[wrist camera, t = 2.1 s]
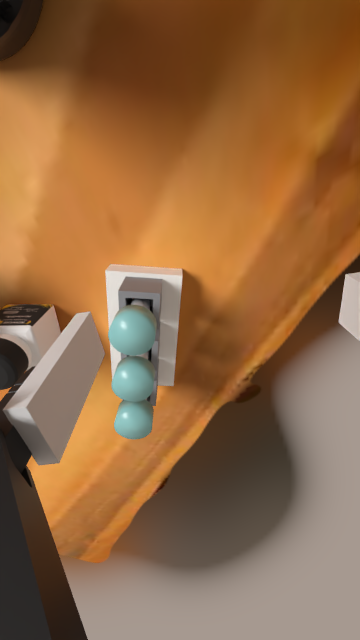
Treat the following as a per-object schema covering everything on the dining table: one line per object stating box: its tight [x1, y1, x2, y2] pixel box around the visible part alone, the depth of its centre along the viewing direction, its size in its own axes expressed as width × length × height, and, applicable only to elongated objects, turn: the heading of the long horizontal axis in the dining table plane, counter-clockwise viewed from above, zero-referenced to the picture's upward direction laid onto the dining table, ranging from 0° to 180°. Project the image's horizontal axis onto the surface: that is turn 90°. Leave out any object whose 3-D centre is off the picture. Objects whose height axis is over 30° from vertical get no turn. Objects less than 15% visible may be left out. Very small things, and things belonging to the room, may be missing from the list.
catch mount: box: [105, 264, 183, 406], centre depth 38 cm, size 10×19×8 cm, turn 176°
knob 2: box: [112, 351, 155, 402], centre depth 32 cm, size 5×5×8 cm
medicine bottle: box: [0, 304, 61, 390], centre depth 36 cm, size 7×7×12 cm
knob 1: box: [108, 298, 157, 356], centre depth 29 cm, size 5×5×8 cm
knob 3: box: [114, 398, 154, 439], centre depth 35 cm, size 5×5×8 cm
